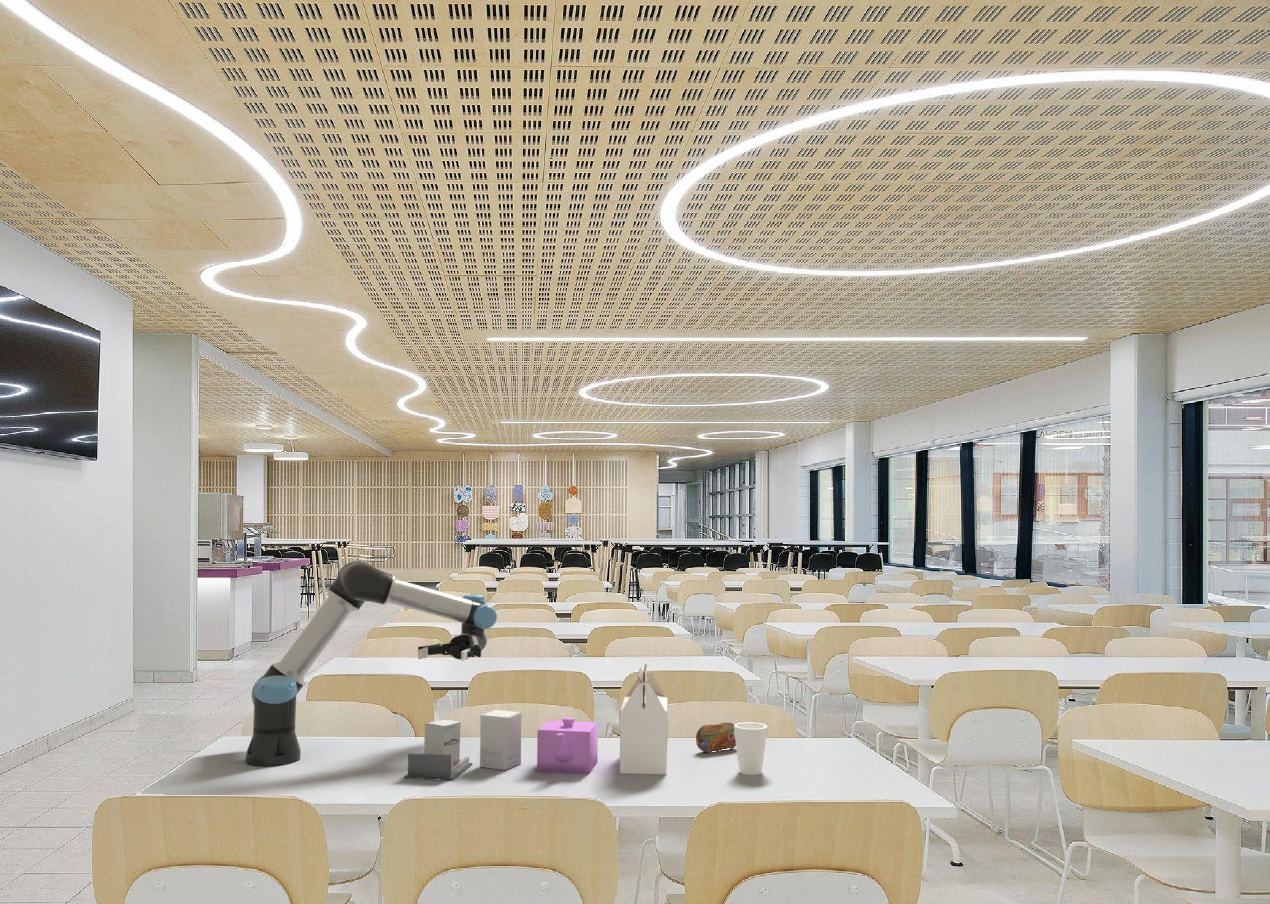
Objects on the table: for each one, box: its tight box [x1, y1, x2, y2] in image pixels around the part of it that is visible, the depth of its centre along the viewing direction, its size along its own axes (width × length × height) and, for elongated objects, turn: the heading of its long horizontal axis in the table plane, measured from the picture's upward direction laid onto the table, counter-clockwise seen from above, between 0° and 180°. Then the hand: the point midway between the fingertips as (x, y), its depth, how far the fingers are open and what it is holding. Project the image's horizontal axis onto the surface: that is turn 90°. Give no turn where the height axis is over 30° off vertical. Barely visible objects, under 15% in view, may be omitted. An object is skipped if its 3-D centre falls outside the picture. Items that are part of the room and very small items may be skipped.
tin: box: [695, 722, 736, 754], centre depth 304 cm, size 15×3×8 cm, turn 120°
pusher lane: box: [403, 752, 473, 781], centre depth 276 cm, size 14×17×7 cm
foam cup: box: [734, 721, 768, 776], centre depth 279 cm, size 10×9×13 cm
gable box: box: [619, 663, 669, 776], centre depth 287 cm, size 22×13×28 cm, turn 178°
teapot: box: [536, 716, 599, 775], centre depth 282 cm, size 15×25×14 cm, turn 172°
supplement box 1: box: [423, 718, 461, 766], centre depth 279 cm, size 7×7×13 cm
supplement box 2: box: [479, 709, 522, 771], centre depth 283 cm, size 9×9×15 cm
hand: (440, 655), depth 295 cm, fingers open, 13 cm apart
